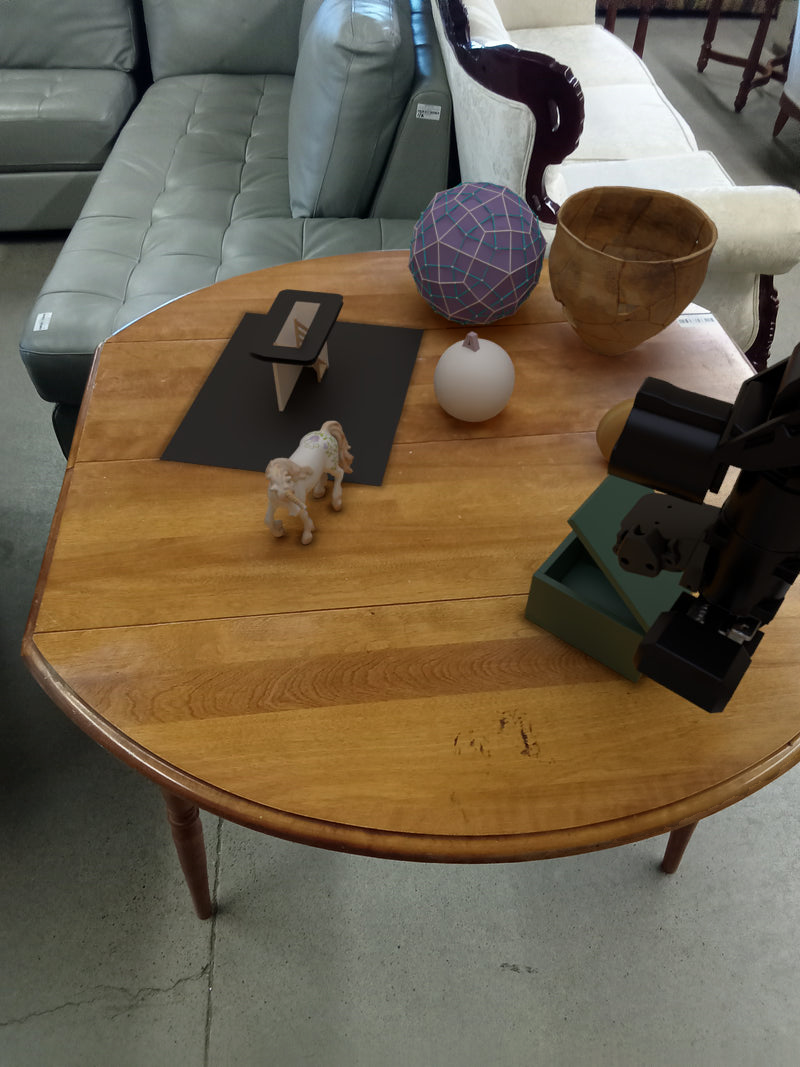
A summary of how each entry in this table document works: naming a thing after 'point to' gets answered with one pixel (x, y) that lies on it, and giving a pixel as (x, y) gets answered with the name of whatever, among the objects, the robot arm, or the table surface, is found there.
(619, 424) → the doughnut
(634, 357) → the table surface
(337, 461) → the unicorn figurine
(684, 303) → the bowl
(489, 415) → the ornament
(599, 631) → the chest
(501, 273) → the decorative sphere
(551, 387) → the table surface
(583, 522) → the lid
